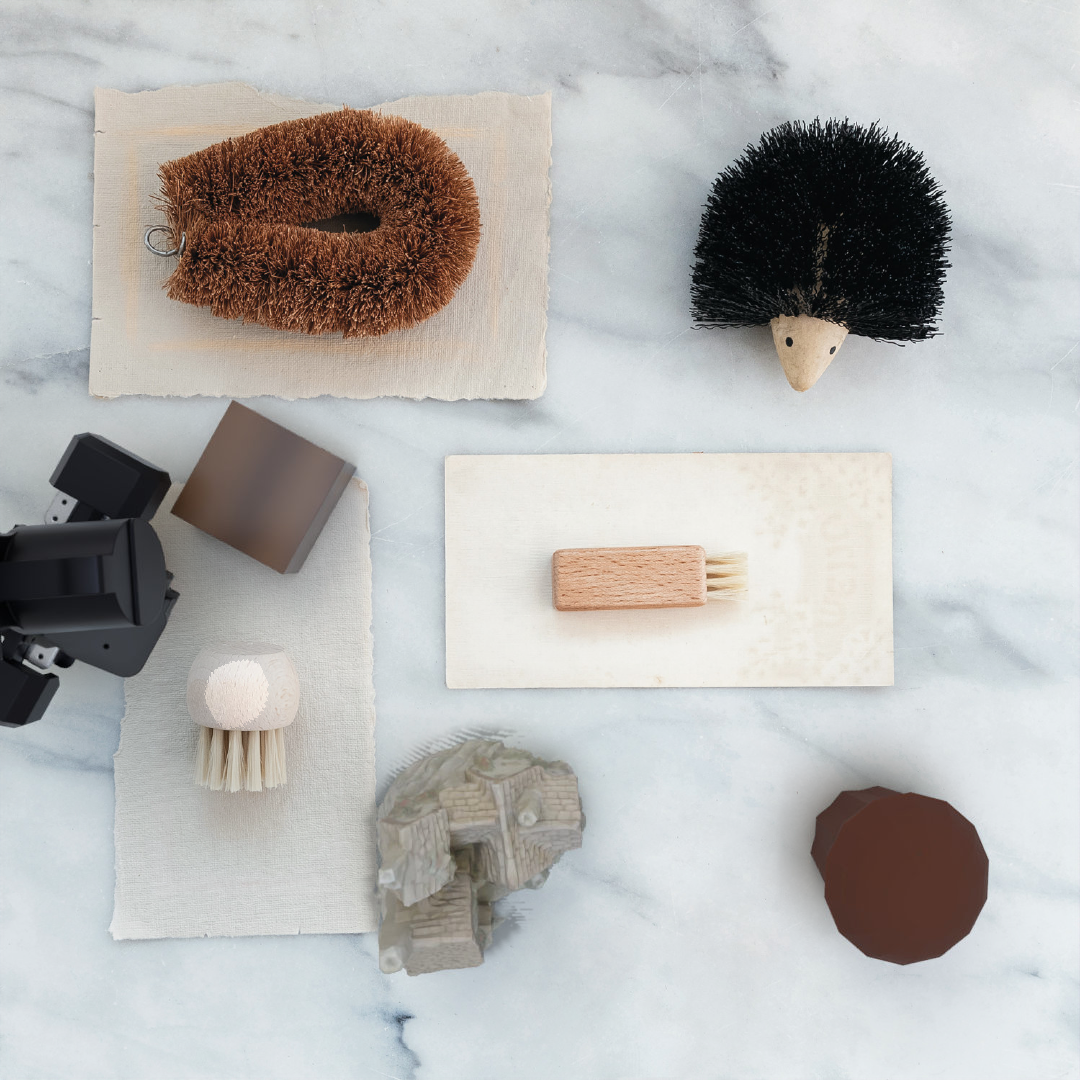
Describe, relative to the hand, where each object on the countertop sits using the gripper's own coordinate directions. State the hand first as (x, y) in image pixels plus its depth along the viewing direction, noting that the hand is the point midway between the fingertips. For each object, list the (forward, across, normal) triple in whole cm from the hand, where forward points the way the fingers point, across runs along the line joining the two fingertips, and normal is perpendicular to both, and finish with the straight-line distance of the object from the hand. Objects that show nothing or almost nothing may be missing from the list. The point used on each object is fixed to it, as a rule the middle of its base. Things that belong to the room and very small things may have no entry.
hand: (119, 575), depth 62 cm
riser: (+1, +11, -7) cm, 13 cm away
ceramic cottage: (+1, -5, -33) cm, 33 cm away
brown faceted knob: (+1, +9, -59) cm, 60 cm away
